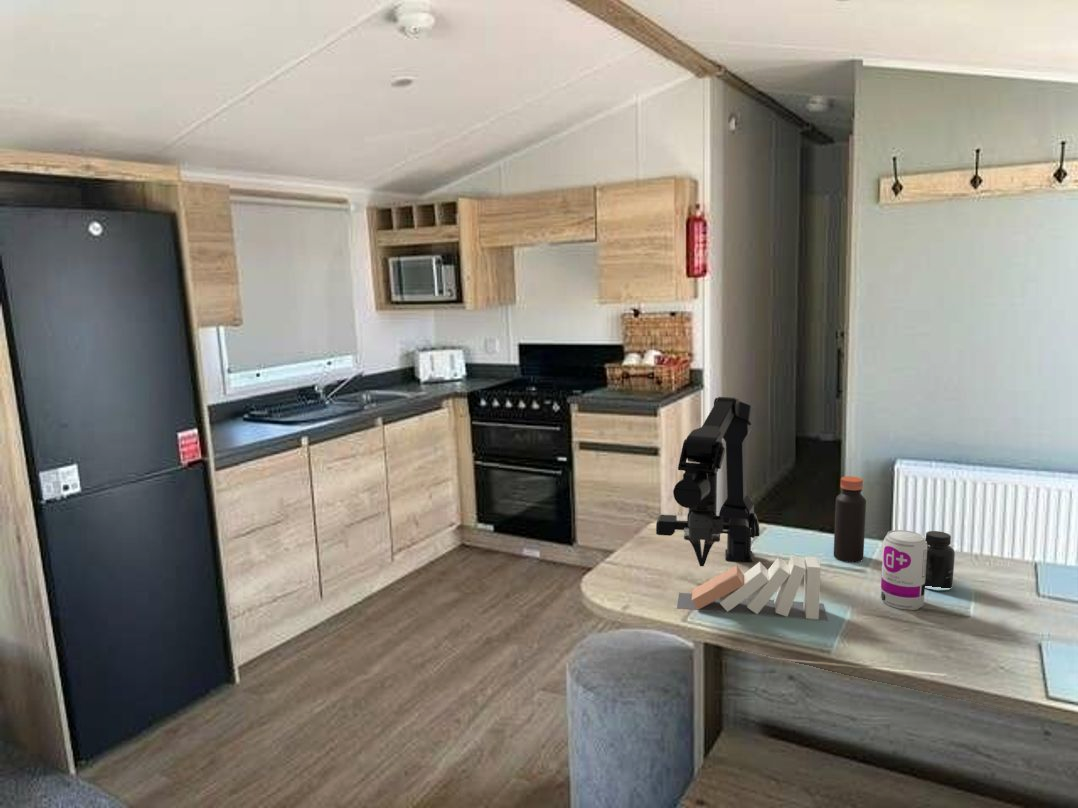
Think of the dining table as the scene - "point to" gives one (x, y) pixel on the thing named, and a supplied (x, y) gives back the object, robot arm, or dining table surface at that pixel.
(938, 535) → the supplement bottle
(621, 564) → the dining table surface
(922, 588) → the supplement can
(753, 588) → the domino
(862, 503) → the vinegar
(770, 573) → the domino
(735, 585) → the orange end domino
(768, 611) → the mat
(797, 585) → the domino
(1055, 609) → the dining table surface
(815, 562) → the domino
